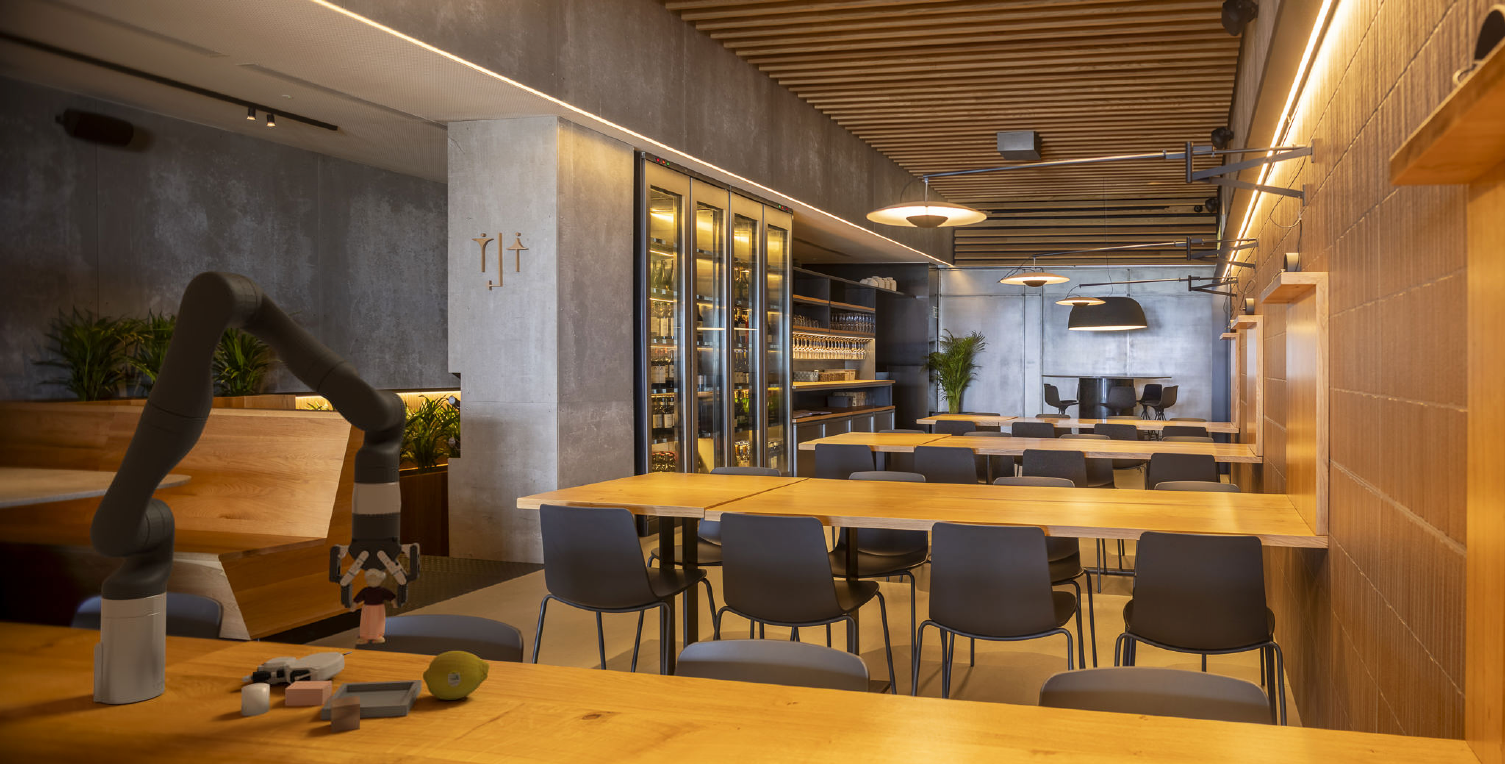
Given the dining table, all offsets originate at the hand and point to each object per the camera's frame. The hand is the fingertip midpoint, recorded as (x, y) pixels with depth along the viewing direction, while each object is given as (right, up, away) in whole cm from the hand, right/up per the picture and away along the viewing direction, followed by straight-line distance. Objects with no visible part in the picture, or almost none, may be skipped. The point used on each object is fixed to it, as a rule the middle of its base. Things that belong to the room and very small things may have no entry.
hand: (374, 606), depth 153 cm
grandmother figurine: (0, -6, 0) cm, 6 cm away
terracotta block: (-11, -16, +1) cm, 20 cm away
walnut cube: (0, -16, -10) cm, 19 cm away
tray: (0, -16, 0) cm, 16 cm away
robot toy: (-18, -17, +11) cm, 27 cm away
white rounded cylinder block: (-18, -16, -4) cm, 24 cm away
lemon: (+13, -17, +3) cm, 21 cm away
